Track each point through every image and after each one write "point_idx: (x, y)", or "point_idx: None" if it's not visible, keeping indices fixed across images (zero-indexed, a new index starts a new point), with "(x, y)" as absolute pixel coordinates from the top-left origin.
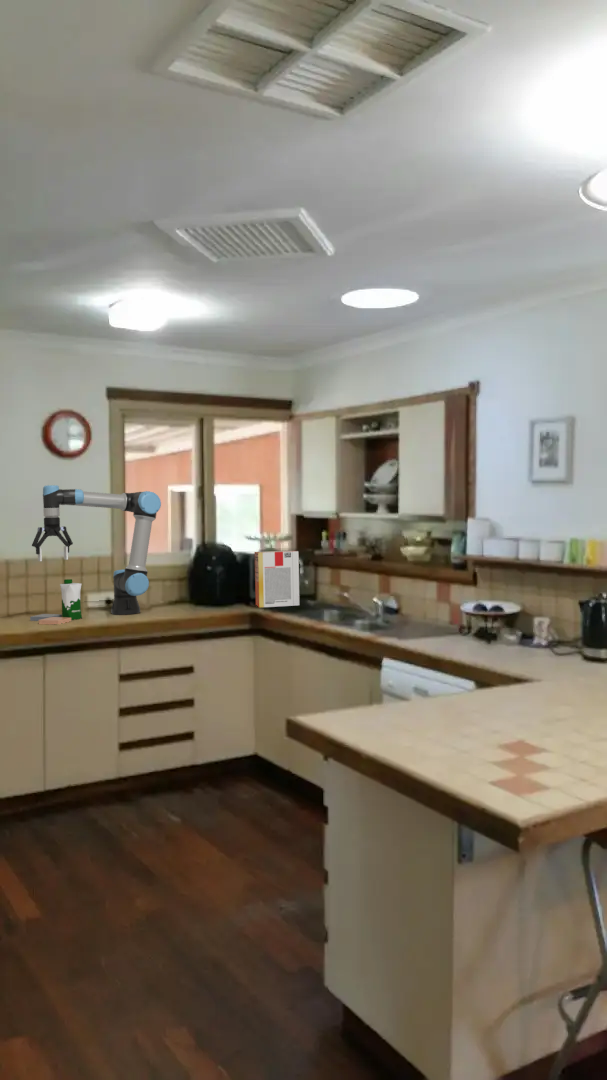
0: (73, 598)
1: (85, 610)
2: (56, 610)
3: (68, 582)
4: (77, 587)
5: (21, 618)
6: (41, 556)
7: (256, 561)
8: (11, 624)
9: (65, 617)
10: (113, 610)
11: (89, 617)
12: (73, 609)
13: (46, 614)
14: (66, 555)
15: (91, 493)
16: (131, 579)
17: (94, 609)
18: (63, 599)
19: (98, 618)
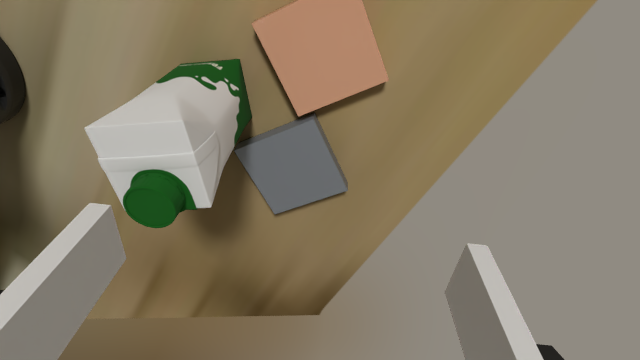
0: (191, 84)
1: None
2: (171, 299)
3: (163, 179)
4: (131, 111)
5: (331, 245)
6: (492, 296)
7: None
8: (447, 155)
9: (269, 49)
10: (5, 71)
11: (139, 74)
12: (212, 67)
13: (275, 194)
14: (74, 246)
15: None
16: None
17: None
18: (232, 130)
19: (115, 5)
